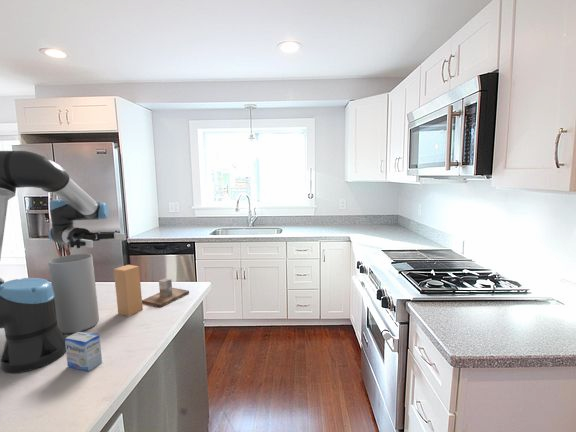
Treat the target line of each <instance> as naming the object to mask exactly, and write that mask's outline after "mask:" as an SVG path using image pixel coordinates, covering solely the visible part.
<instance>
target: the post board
mask: <svg viewBox="0 0 576 432" xmlns="http://www.w3.org/2000/svg"><path fill="white" fill-rule="evenodd" d="M172 284H173V283H172V279H171V278H166V277H165V278H162V279H159V280H158V285H159V286H158V287H159V288H158V289H159V292H158V293H156V294H153V295H151V296H148V297H146V298H143V299H142V304H144V305H150V306H154V307H158V308H162V307H164V306H166V305H168V304H170V303H172V302H174V301H176V300H178V299H180V298H182V297H184V296H186V295H189V294H190V291H189V289H188V290H186V289H182V288H177V287H176V288H175V287H173V285H172Z"/></svg>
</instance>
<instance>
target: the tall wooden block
mask: <svg viewBox="0 0 576 432" xmlns="http://www.w3.org/2000/svg"><path fill="white" fill-rule="evenodd" d="M140 273H141V272H140V266H138V265H132V264H126V265H122V266H119V267H117V268H113V276H114V286H115V297H116V304H117V314H120V315H124V316H127V317H130V316H132V315H134V314H136V313H138V312H140V311H143V303H142V300H143V297H142V286H141V277H140V276H141V274H140Z"/></svg>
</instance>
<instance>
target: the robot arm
mask: <svg viewBox="0 0 576 432" xmlns="http://www.w3.org/2000/svg"><path fill="white" fill-rule="evenodd" d="M19 188H34V189H35V188H37V189H41V190H43V191H44V192H47V193H52V194H54V195H55V196H56V197H57V198H60V199H52V200H50V201H49V213H50V219H51V228H50V229H49V231H48V234H47V236H48V237H49V240H50V241H52V242H54V243H57V244H60V245H61V244H66V245H69V247H70V248H74V247H76V249H80V248H81V247H83V248H90V249H92V248H94V242H98V241H100V240H110V239H111V240H112V239H114V240H119V241H126V240H127V236H126V233H123V232H121V231H118V230H115V231H97V232H95V231H94V232H93V231H90V230H88V229H87V228H83V227H76V226H75V227H74V221H93V220H94V221H95V220H97V221H98V220H99V221H100V220H105V219H108V217H109V216H110V208H109V205H108V203H107V202H97V201H96V200H95V199H93V197H91V196H90V195H89V194H88V193H87V192H86V191H85V190H84V189H82V187H80V186H79V185H78V184H77V183H76V182H75V181H74V180H73V179H72V178H71V176H70V174H69V172H68V170H67V169H65V168H64V167H63V166H61V165H60V164H59V163H57V162H55V161H54V160H52V159H50V158H48V157H46V156H45V155H42V154H39V153H37V152H36V153H35V152H33V151H28V150H0V260H1V258H2V257H1V256H2V250H3V249H2V248H3V242H4V235H5V227H6V221H7V220H6V219H7V211H8V204H9V200H11V199H12V198H14V197H16V191H17V189H19ZM0 329H3V331H4V335H5V342H4V346H3V351H2V354H1V357H0V366H1V370H2V371H3V372H4V373H9V374H11V373H12V374H14V373H15V374H16V373H18V374H19V373H23V372H28V371H33V370H35V369H38V368H41V367H44V366H46V365H49V364H51V363H52V362H56V360H58V359H60V358H61V357H62V356H63V355H64V354H66V345H65V338H66V336H65V335H64V333H62V332H61V330H60V329H59V327H58V325H57V317H56V308H55V300H54V292H53V288H52V284H51V281H48V279H45V278H39V277H23V278H19V279H18V278H17V279H11V280H8V281H5V280H4V279H3V278H1V277H0Z"/></svg>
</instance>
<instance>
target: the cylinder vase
mask: <svg viewBox="0 0 576 432" xmlns="http://www.w3.org/2000/svg"><path fill="white" fill-rule="evenodd" d="M48 268H49V269H48V270H49V276H50V283H51V284H52V288H53V292H54V300H55V308H56V317H57V325H58V327H59V329H60V330H61V332H62V334H75V333H77V332H84V331H86V330H89V329H90V328H92V327H94V326H96V325H97V324H98V323H99V321H100V314H99V306H98V305H99V304H98V303H99V302H98V295H97V287H96V278H95V268H94V259H93V255H92V254H91V253H79V254H78V253H77V254H76V253H75V254H69V255H62V256H58V257H54V258H52V259H50V260H49V261H48Z"/></svg>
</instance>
